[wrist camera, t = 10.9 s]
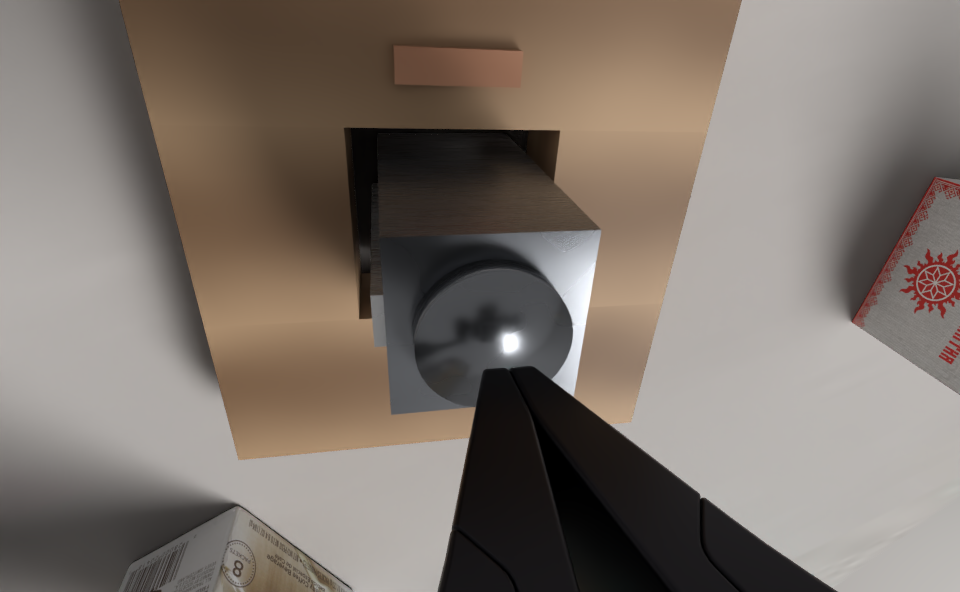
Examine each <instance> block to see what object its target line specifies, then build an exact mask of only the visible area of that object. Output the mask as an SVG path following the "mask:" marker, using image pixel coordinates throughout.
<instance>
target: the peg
mask: <svg viewBox="0 0 960 592" xmlns="http://www.w3.org/2000/svg"><path fill="white" fill-rule="evenodd" d="M377 149H378V184H372V211H371V283H370V298H371V310H372V323H373V335H374V347H383V346H387V360H388V375H389V390H390V405H391V415H396V414H407V413H417V412H428V411H438V410H449V409H459V408H470V407H476V403H477V398H478V393H479V388H480V383H481V378H482V373H483V371H484V370H485V369H491V368H507V369H508V370H509V369H510V368H511V367H518V366H533V367H535V368H537V369H538V370H539V371H541V372H542V373H543V374H545V375H546V376H547V377H548V378H550V379H551V380H552V381H554V382H555V383H556V384H558V385H559V386H560V387H561V388H563V389H564V390H565V391H567V392H568V393H569V394H571V395H572V396H573V397H574V392H575V386H576V380H577V374H578V368H579V362H580V356H581V350H582V344H583V338H584V332H585V326H586V320H587V314H588V308H589V302H590V296H591V290H592V284H593V278H594V272H595V266H596V260H597V254H598V248H599V242H600V236H601V229H600V228H599V227H598V226H597V225H596V224H595V223H594V222H593V221H592V220H591V219H590V218H589V217H588V216H587V215H586V214H585V213H584V212H583V211H582V210H581V209H580V208H579V207H578V206H577V205H576V204H575V203H574V202H573V201H572V200H571V199H570V198H569V197H568V196H567V195H566V194H565V193H564V192H563V191H562V190H561V189H560V188H559V187H558V186H557V185H556V184H555V183H554V181H553V180H552V179H551V178H550V177H549V176H548V175H547V174H546V173H545V172H544V171H543V170H542V169H541V168H540V167H539V166H538V165H537V164H536V163H535V162H534V161H533V160H532V159H531V158H530V157H529V156H528V155H527V154H526V153H525V152H524V151H523V150H522V149H521V148H520V147H519V146H518V145H517V144H516V143H515V142H514V141H513V140H512V139H511V138H510V137H509V136H508V135H507V134H506V133H377Z"/></svg>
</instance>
